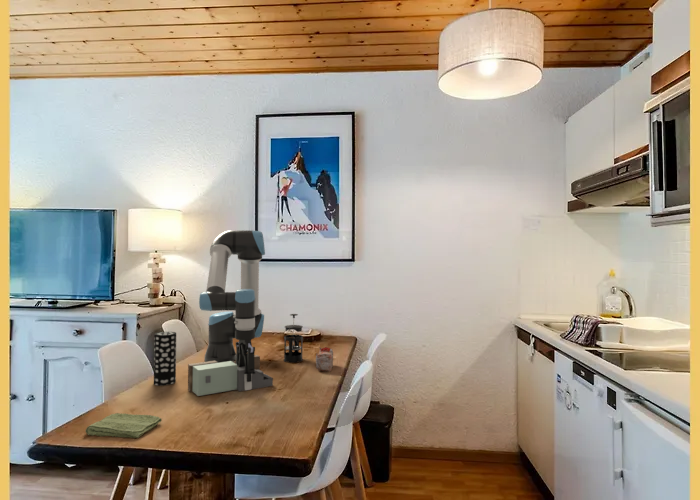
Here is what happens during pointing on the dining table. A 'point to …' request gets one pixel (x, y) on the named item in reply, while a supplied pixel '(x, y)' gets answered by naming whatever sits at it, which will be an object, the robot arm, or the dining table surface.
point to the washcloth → (123, 425)
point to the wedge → (253, 379)
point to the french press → (296, 355)
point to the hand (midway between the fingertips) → (245, 387)
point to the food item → (324, 359)
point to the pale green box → (214, 378)
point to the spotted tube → (164, 358)
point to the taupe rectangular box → (190, 366)
